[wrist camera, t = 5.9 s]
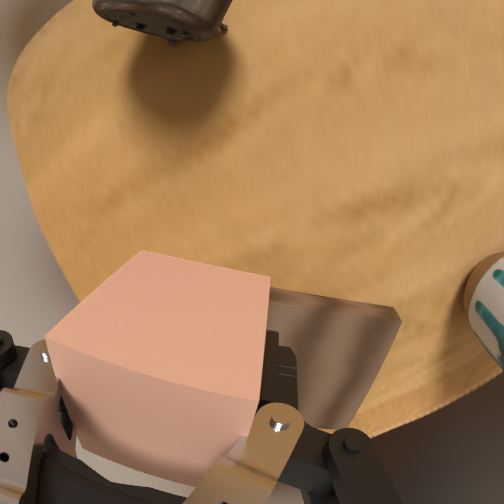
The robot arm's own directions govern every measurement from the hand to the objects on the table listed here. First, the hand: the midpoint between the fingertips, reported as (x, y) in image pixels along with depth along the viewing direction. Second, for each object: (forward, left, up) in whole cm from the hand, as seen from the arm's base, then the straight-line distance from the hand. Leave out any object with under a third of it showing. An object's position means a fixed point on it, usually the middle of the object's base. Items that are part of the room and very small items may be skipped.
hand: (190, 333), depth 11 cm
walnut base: (-9, +16, -19) cm, 26 cm away
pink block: (0, 0, -1) cm, 1 cm away
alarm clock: (+9, -18, -20) cm, 28 cm away
